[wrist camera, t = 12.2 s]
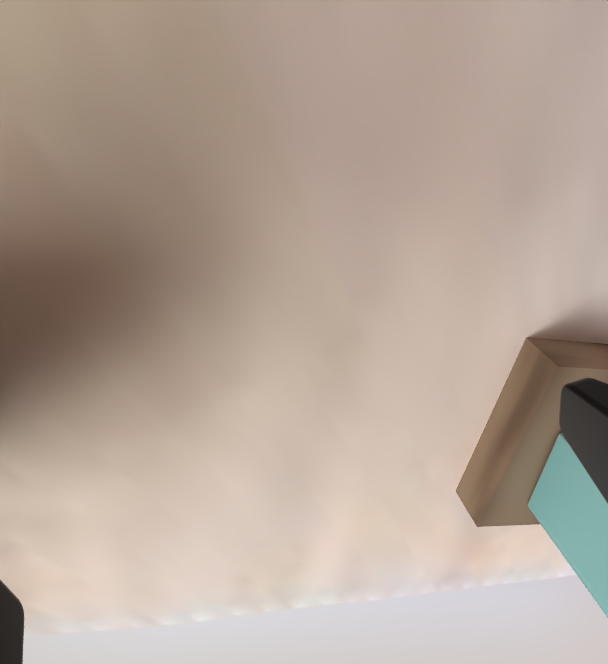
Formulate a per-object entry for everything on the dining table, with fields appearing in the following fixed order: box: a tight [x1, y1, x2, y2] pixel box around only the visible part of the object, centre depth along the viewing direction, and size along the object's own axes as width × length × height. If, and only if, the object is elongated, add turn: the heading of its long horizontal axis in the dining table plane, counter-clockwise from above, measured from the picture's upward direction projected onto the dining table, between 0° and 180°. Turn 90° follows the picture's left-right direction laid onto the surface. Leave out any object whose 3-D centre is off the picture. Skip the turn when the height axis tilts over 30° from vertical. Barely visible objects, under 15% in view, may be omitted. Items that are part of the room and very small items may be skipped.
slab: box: [456, 338, 608, 527], centre depth 28 cm, size 10×10×3 cm
